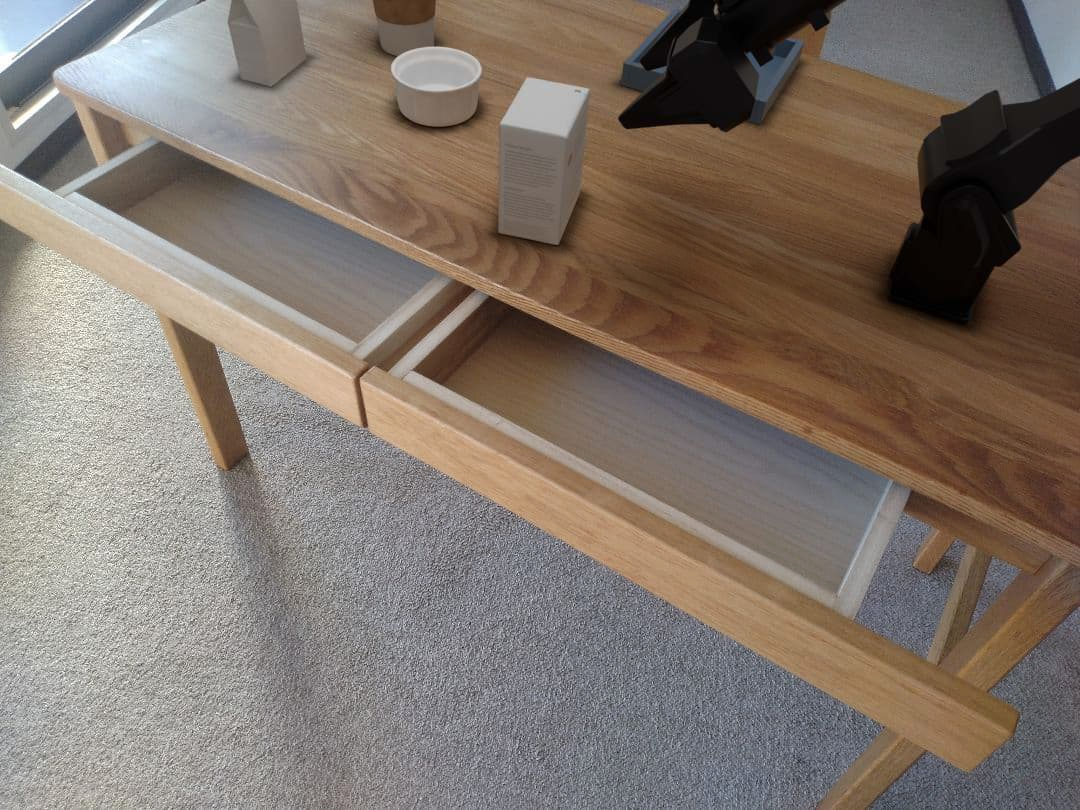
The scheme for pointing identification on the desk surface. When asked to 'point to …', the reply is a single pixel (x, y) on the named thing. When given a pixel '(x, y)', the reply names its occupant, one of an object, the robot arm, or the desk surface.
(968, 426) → the desk surface
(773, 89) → the tray
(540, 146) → the small box
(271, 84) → the grey carton
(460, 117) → the ramekin
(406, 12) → the coffee cup
